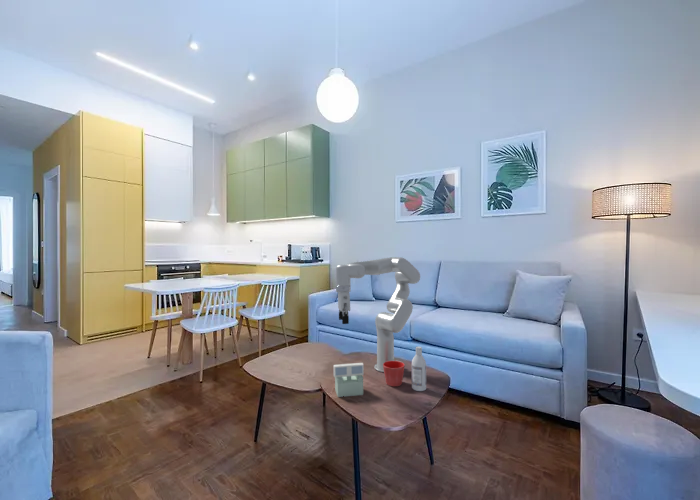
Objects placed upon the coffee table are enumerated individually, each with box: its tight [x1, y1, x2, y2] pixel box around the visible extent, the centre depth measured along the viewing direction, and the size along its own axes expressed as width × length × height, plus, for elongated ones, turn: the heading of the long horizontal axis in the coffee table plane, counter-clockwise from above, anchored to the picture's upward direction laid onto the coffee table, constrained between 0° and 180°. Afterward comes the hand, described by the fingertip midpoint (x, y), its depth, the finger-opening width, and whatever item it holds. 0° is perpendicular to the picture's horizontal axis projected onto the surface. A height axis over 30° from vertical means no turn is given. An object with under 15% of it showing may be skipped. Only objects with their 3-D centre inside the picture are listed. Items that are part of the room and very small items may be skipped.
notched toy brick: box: [334, 375, 364, 398], centre depth 149 cm, size 12×8×8 cm, turn 101°
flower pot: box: [383, 360, 406, 387], centre depth 159 cm, size 11×11×10 cm
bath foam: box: [411, 346, 427, 392], centre depth 153 cm, size 7×7×20 cm
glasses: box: [333, 362, 365, 378], centre depth 149 cm, size 14×3×5 cm, turn 101°
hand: (343, 321), depth 163 cm, fingers open, 9 cm apart
